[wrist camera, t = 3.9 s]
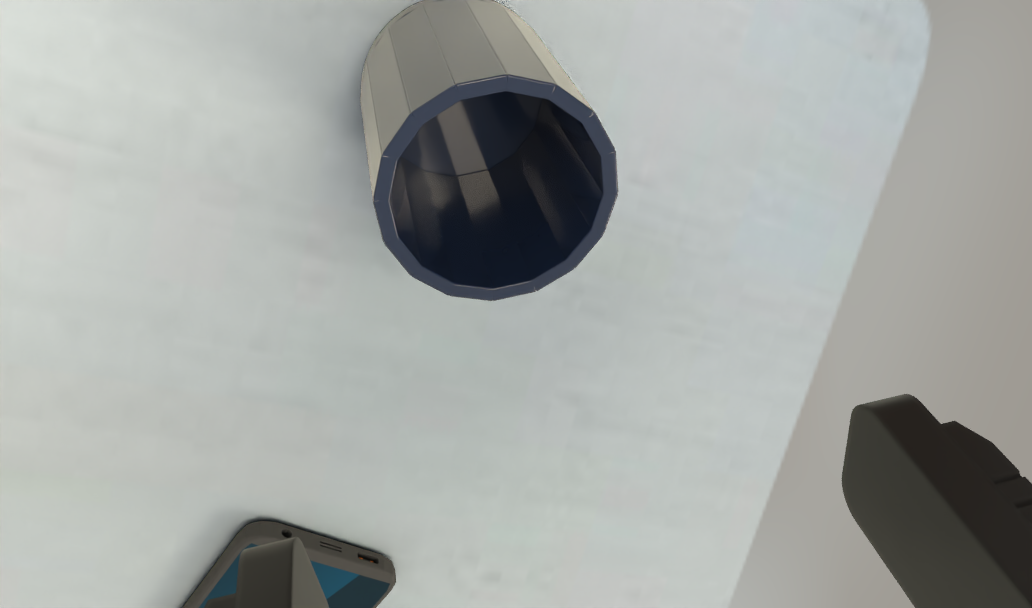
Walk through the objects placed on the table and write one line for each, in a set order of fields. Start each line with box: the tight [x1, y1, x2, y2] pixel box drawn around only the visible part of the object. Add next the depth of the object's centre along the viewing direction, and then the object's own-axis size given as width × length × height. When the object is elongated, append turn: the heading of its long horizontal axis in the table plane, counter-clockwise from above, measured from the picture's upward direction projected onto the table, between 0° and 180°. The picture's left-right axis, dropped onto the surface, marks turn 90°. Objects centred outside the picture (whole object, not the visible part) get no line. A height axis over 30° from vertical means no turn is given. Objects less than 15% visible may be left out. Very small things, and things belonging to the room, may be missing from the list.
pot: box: [360, 0, 618, 301], centre depth 23 cm, size 6×6×8 cm
